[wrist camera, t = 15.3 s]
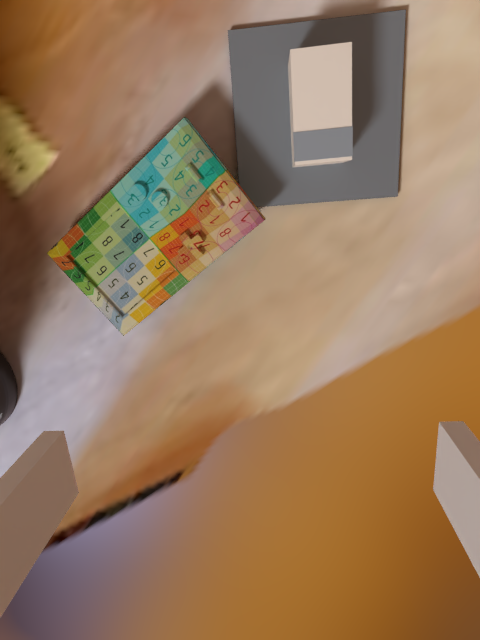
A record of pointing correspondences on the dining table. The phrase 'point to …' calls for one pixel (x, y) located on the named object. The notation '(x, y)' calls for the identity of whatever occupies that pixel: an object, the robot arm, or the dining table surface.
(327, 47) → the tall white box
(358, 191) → the mat
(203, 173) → the puzzle game
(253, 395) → the dining table surface
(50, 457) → the robot arm
